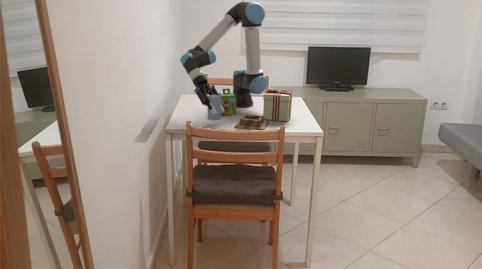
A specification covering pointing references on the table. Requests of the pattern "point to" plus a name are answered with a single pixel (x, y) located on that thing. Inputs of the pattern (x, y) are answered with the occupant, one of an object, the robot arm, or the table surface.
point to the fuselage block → (216, 104)
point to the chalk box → (228, 102)
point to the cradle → (252, 122)
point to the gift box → (277, 104)
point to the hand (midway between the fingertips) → (219, 112)
